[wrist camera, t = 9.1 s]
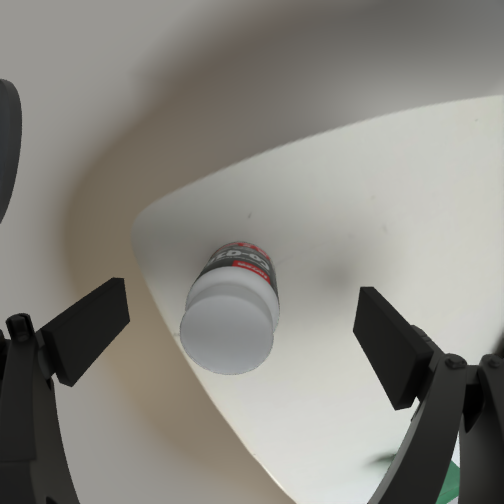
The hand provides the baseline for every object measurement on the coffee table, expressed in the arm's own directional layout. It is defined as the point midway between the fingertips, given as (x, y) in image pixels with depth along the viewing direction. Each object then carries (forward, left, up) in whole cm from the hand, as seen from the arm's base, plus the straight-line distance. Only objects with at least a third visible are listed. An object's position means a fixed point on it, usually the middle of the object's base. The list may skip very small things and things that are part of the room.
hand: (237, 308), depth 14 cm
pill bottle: (0, 0, -5) cm, 5 cm away
